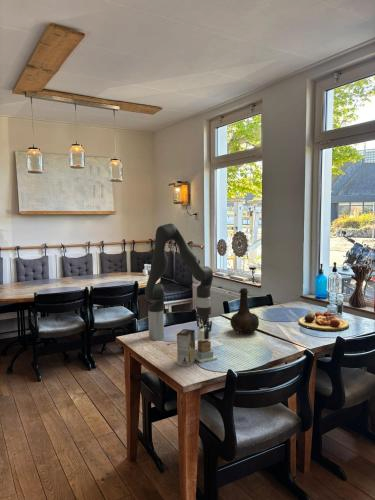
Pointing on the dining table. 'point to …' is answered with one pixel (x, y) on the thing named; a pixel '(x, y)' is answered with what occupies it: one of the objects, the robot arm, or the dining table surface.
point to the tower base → (204, 356)
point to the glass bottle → (244, 316)
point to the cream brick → (201, 335)
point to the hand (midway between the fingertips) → (204, 337)
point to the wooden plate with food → (323, 322)
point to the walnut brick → (204, 346)
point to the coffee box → (186, 347)
